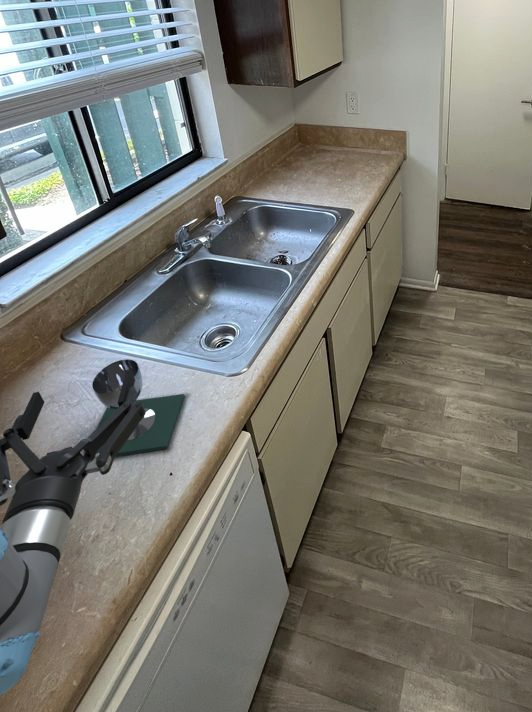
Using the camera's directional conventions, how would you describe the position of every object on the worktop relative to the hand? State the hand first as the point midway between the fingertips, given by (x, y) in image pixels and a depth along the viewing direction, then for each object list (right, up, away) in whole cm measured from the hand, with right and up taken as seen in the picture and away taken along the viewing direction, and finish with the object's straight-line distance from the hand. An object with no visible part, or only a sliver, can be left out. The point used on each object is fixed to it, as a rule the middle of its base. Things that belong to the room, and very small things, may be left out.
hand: (86, 385), depth 75 cm
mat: (-3, -18, +19) cm, 27 cm away
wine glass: (-3, -18, +19) cm, 26 cm away
